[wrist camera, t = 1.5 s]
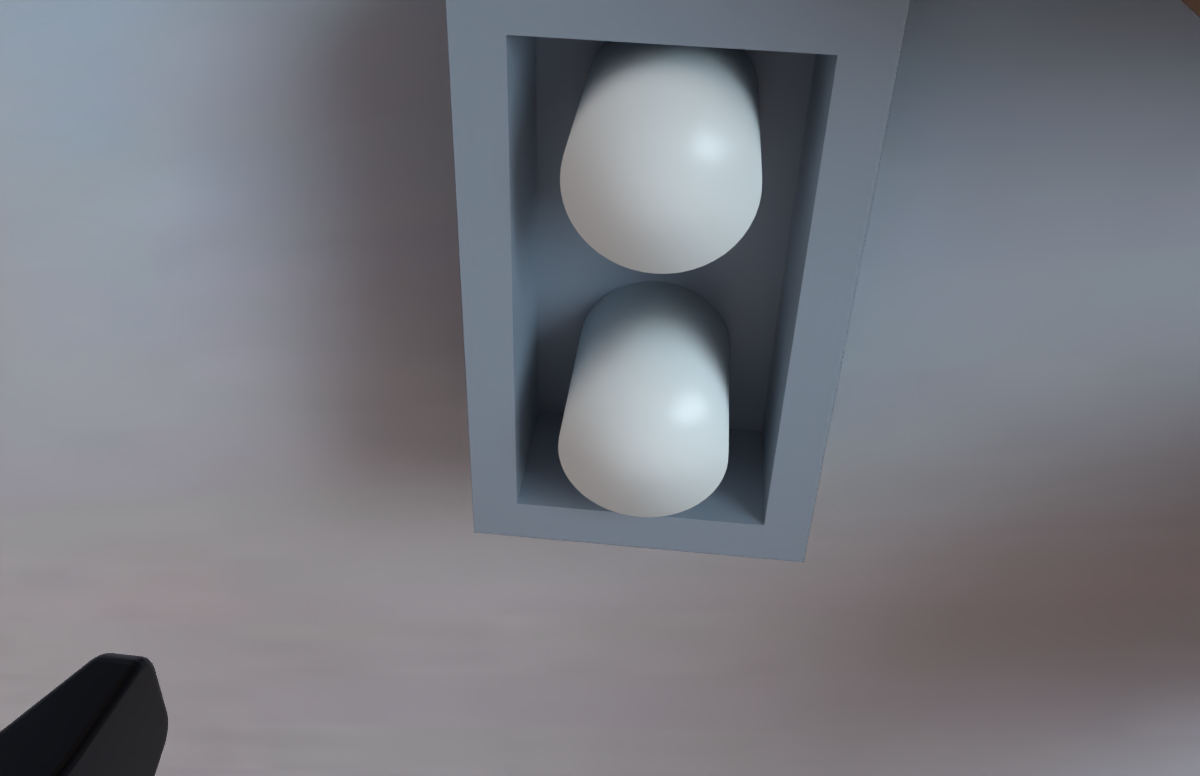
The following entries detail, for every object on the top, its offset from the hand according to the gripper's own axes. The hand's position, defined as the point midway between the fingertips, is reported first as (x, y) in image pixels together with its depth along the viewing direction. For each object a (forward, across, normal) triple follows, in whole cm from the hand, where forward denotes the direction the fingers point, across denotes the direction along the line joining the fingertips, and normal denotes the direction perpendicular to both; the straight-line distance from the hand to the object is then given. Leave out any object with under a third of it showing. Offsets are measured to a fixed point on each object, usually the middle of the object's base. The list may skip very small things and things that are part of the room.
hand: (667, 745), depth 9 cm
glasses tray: (+12, 0, +1) cm, 12 cm away
